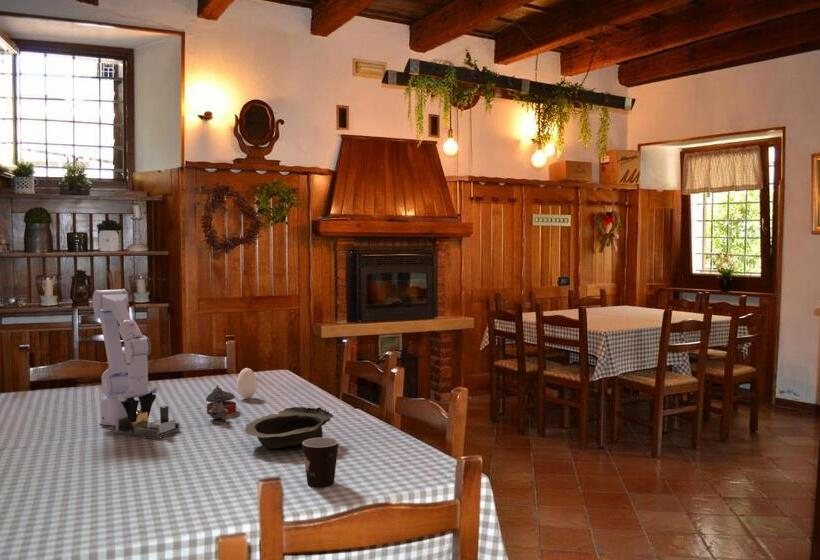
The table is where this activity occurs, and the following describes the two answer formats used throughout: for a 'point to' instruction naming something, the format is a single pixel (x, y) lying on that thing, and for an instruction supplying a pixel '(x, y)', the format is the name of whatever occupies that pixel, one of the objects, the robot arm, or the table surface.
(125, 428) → the press frame
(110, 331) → the robot arm
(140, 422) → the gold bell
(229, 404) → the canned food
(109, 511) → the table surface
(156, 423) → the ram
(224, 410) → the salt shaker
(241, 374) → the egg
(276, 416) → the stone bowl
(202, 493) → the table surface
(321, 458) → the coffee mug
